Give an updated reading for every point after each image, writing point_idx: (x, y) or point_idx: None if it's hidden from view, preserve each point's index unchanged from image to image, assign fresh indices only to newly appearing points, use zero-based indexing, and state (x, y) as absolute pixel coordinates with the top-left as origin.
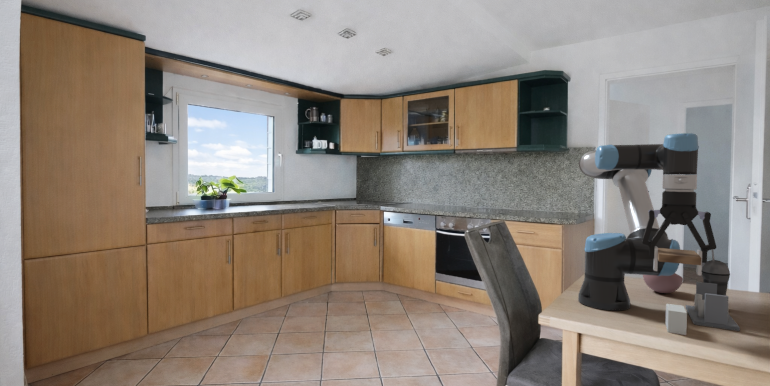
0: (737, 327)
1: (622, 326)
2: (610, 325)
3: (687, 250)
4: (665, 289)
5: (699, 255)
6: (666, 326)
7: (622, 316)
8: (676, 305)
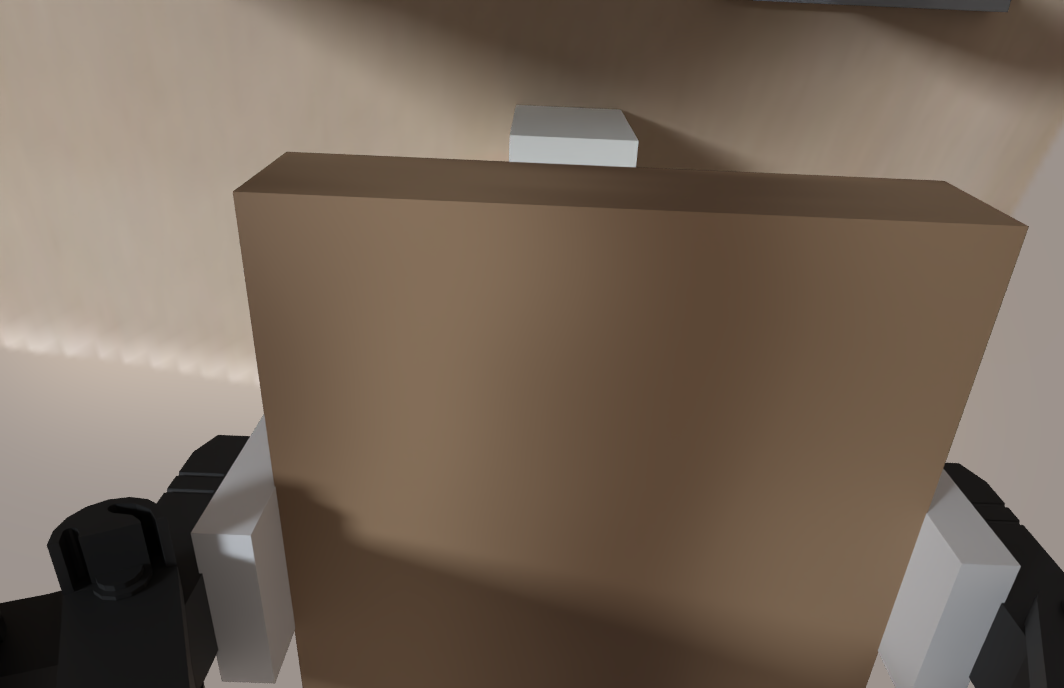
0: (993, 9)
1: None
2: (198, 308)
3: (867, 274)
4: None
5: (887, 641)
6: None
7: (234, 55)
8: (584, 161)
